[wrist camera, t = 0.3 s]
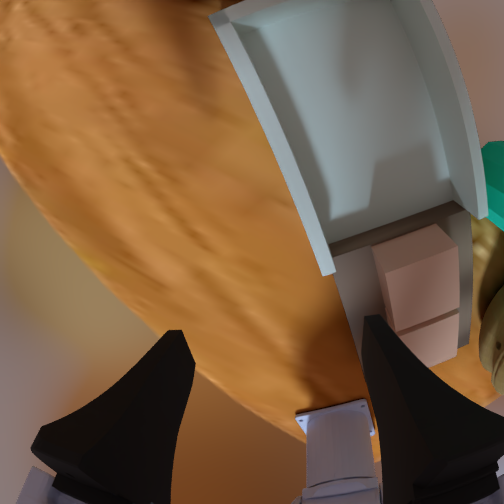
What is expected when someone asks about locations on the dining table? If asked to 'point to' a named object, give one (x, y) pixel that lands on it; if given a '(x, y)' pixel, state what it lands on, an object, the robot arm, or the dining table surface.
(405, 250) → the tile
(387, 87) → the tray
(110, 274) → the dining table surface
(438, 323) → the tile
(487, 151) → the candle
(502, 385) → the pot
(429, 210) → the grey slab
